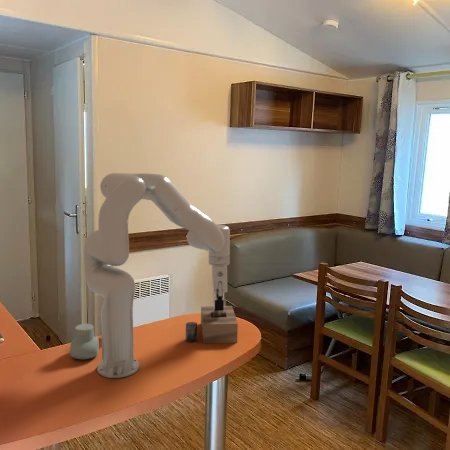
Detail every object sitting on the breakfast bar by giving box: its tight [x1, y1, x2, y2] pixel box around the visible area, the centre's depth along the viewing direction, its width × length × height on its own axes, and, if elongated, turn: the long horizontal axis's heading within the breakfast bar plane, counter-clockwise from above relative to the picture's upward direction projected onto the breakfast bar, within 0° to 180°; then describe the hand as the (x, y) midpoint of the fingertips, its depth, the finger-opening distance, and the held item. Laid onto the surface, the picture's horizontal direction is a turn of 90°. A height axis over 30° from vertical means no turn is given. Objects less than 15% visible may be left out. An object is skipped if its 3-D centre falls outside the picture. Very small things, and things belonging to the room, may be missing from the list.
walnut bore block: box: [200, 305, 238, 344], centre depth 173 cm, size 18×12×7 cm, turn 5°
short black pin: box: [185, 321, 198, 344], centre depth 167 cm, size 4×4×6 cm
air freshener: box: [69, 323, 100, 360], centre depth 153 cm, size 11×8×10 cm
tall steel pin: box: [212, 289, 225, 318], centre depth 172 cm, size 4×4×12 cm
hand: (218, 307), depth 172 cm, fingers closed on tall steel pin, 4 cm apart
